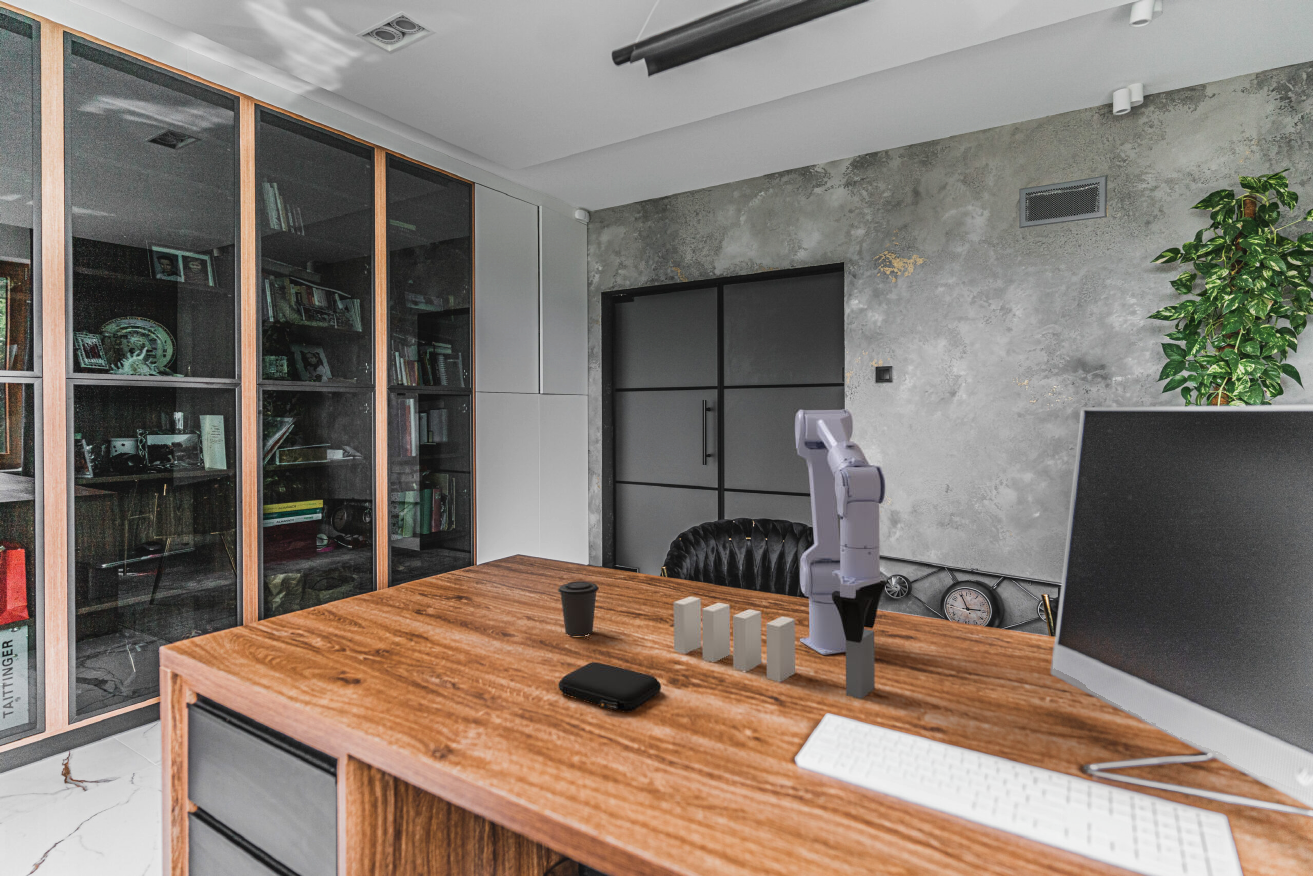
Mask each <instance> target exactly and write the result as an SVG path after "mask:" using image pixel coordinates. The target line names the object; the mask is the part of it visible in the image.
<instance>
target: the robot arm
mask: <svg viewBox="0 0 1313 876" xmlns="http://www.w3.org/2000/svg"><path fill="white" fill-rule="evenodd" d="M853 429H854V423H853V416H852V413H851V412H850V411H849V409H847V408H843V409H826V410H825V409H817V410H816V409H815V410H814V409H811V410H810V409H808V410H805V409H799V410H798V412H796V414H795V420H794V433H795V435H794V436H795V447H796V450H797V455H798V456H799V457H802V458H803V459H805V461H806V465H807V468H808V469H807V470H808V477H809V478H808V479H809V491H810V493H809V494H810V503H811V504H810V505H811V516H812V517H811V518H812V520H811V521H812V530H813V531H812V532H813V543H814V544H813V545H812V546H810V547H809V548H808V549H807V550H806V551H804V552H803V553H802V554H801V557H800V570H799V583H800V589H801V592H802V594H803V595H804V596H805V597H808V611H809V612H808V617H809V618H808V623H809V627H808V630H809V631H808V632H809V635H808V637H807V636H806V637H802V638H799V642H801V643H802V644H804V645H806V646H808V647H809V648H810V649H812V650H814V651H816V652H817V653H819V654H821V655H824V656H827V655H832V654H840V653H846V640H847V641H852V642H858V643H860V642H861V641H862V637H863V632H864V629H865V628H868V629H869V628H870V629H873V628H874V626H875V624H876V619H877V613H878V608H879V604H880V600H881V597H882V595H883V593H884V590H885V589H886V587H887V581H885V580H882V575H881V572H880V565H881V564H880V563H881V561H880V556H881V555H880V554H881V553H880V505H881V504H883V502H884V500H885V495H886V478H885V474H884V472H883V470H882V467H881V466H880V465H875V464H870V463H869V461H868V459H867V458H866V455H865V453H864V452H863V450H862V448H861V447H860V446H859V444H857V443H855V442H854V441H851V439H852V435H853V431H854V430H853ZM838 515H839V517H838ZM838 518H839V520H838ZM839 529H840V530H839ZM831 561H832V562H831ZM834 561H835V562H834Z"/></svg>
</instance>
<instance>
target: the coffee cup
mask: <svg viewBox="0 0 1313 876" xmlns="http://www.w3.org/2000/svg"><path fill="white" fill-rule="evenodd" d="M598 590H599V586H598V584H596V583H594V582H589V581H586V580H585V581H584V580H578V581H570V582H567V583H564V584H562V585H559V587H558V590H557V591H558V592H559V593H560V599H561V609H562V615H563V622H564V630H565V635H566V634H568V635H570V636H585V635H588V634H591V633H592V632H593V630H594V621H595V611H596V610H595V609H596V598H597V591H598ZM592 634H593V633H592ZM592 634H591V635H592Z"/></svg>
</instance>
